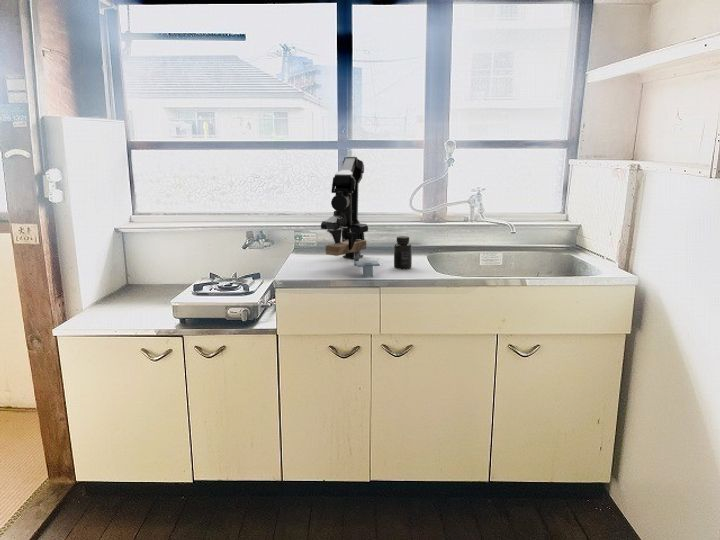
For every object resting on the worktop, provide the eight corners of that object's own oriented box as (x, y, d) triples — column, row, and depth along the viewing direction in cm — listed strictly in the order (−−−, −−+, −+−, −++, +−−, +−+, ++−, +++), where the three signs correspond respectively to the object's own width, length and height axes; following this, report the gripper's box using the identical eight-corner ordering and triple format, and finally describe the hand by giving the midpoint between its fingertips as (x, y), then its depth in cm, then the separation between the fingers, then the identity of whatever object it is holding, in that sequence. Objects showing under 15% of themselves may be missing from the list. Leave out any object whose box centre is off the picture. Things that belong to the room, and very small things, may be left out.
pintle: (356, 264, 209) (356, 250, 208) (360, 265, 208) (360, 251, 207) (352, 265, 207) (352, 251, 206) (357, 265, 206) (357, 252, 205)
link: (337, 255, 193) (337, 247, 192) (325, 254, 196) (325, 245, 195) (366, 248, 207) (366, 240, 206) (355, 247, 210) (355, 239, 209)
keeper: (379, 276, 190) (379, 263, 189) (357, 277, 188) (357, 265, 187) (374, 271, 196) (374, 260, 195) (353, 272, 194) (353, 261, 193)
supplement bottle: (413, 266, 205) (414, 236, 203) (409, 270, 199) (409, 238, 196) (396, 265, 207) (396, 235, 205) (391, 268, 201) (392, 237, 198)
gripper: (310, 208, 196) (311, 249, 199) (350, 211, 185) (350, 255, 188) (330, 205, 204) (330, 245, 208) (369, 208, 193) (368, 250, 197)
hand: (344, 249), depth 200 cm, fingers closed on link, 5 cm apart
